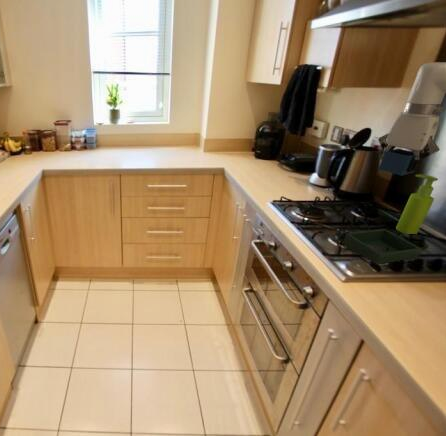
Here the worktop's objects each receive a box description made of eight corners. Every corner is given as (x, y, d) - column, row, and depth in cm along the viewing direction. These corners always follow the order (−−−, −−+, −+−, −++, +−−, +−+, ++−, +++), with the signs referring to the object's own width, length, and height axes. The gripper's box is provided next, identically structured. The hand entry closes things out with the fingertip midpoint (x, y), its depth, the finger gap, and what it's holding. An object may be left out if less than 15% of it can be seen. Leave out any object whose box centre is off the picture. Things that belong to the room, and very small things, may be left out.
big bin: (379, 240, 106) (384, 228, 104) (416, 261, 95) (422, 249, 93) (341, 245, 104) (346, 233, 102) (375, 267, 93) (380, 255, 91)
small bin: (390, 166, 105) (397, 148, 102) (414, 172, 99) (422, 153, 97) (378, 169, 102) (385, 151, 100) (401, 175, 97) (409, 156, 94)
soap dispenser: (399, 223, 115) (422, 172, 106) (421, 232, 110) (448, 178, 100) (388, 227, 113) (411, 174, 104) (410, 236, 108) (437, 181, 98)
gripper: (466, 112, 86) (437, 174, 95) (395, 104, 100) (375, 159, 109) (451, 115, 84) (422, 178, 92) (380, 106, 98) (361, 162, 106)
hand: (397, 167), depth 100 cm, fingers closed on small bin, 6 cm apart
